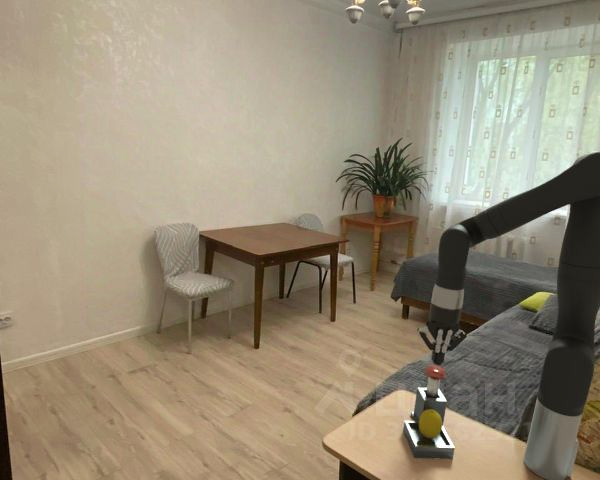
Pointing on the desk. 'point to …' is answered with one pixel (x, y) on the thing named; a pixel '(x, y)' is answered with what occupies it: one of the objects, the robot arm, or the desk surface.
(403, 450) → the desk surface
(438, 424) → the lemon
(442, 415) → the press column
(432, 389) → the plunger
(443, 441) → the square metal tray
